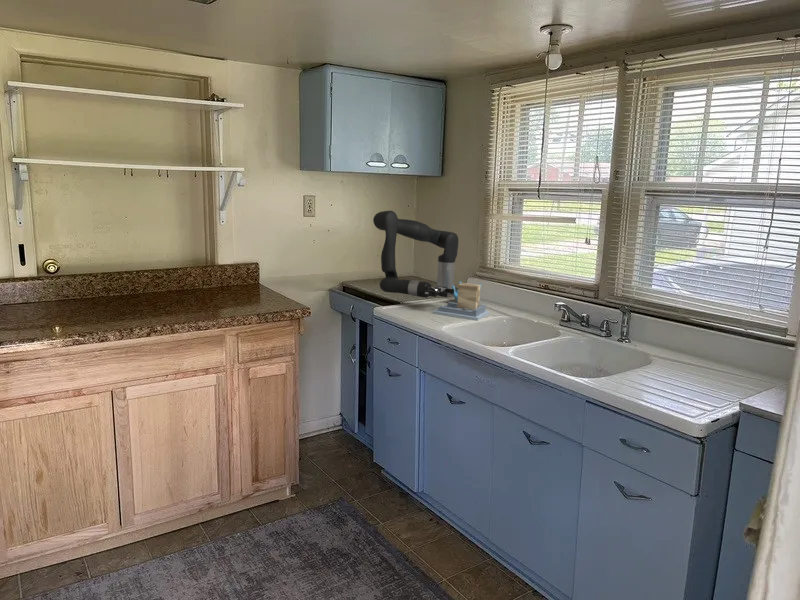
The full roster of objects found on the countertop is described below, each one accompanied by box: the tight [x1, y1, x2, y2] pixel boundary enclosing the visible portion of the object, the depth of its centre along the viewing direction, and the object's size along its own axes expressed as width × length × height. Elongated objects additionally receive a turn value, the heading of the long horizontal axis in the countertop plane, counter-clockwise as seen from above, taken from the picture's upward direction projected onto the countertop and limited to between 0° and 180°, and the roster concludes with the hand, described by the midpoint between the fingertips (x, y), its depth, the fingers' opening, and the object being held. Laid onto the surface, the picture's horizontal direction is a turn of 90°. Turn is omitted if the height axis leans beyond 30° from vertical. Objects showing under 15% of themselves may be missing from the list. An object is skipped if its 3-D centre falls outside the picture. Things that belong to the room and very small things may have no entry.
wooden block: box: [456, 282, 481, 310], centre depth 273 cm, size 4×9×13 cm, turn 63°
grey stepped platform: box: [432, 301, 490, 322], centre depth 276 cm, size 16×22×4 cm
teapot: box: [451, 280, 483, 303], centre depth 296 cm, size 13×13×10 cm
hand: (450, 293), depth 277 cm, fingers open, 8 cm apart
